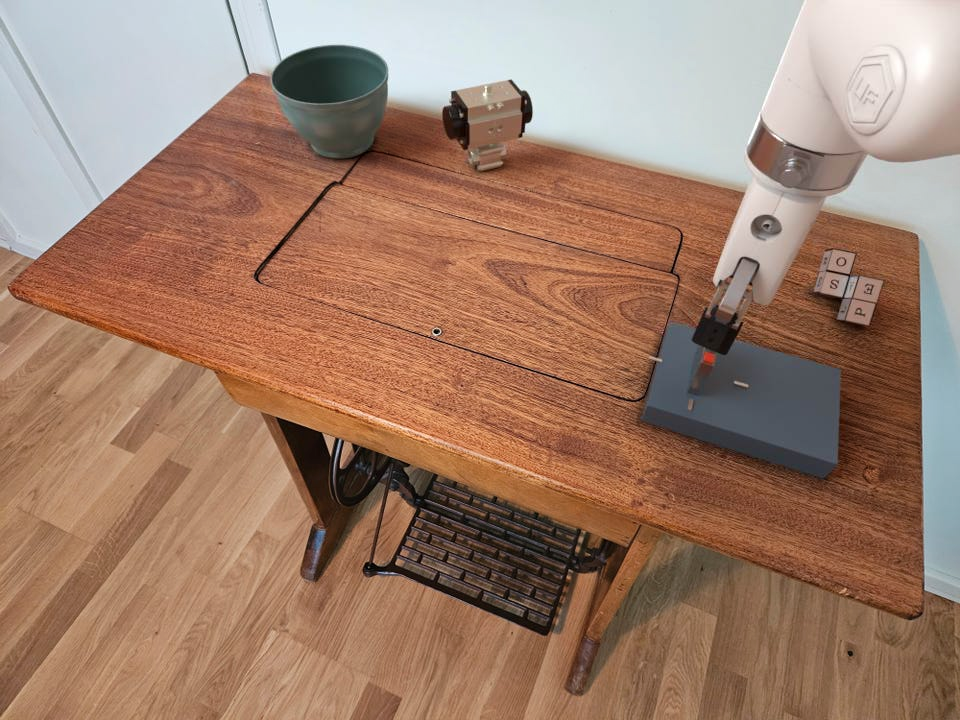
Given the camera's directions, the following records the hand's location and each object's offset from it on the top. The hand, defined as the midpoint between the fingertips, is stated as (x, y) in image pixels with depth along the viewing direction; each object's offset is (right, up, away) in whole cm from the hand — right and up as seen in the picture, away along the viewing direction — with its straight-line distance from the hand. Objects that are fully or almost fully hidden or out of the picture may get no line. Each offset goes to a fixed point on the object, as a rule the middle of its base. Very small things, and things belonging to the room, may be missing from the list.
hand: (726, 311), depth 57 cm
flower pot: (-44, +29, +37) cm, 64 cm away
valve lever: (0, -6, +7) cm, 9 cm away
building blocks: (+20, +2, +18) cm, 27 cm away
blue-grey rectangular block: (+5, -9, +9) cm, 13 cm away
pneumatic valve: (-22, +24, +34) cm, 47 cm away
